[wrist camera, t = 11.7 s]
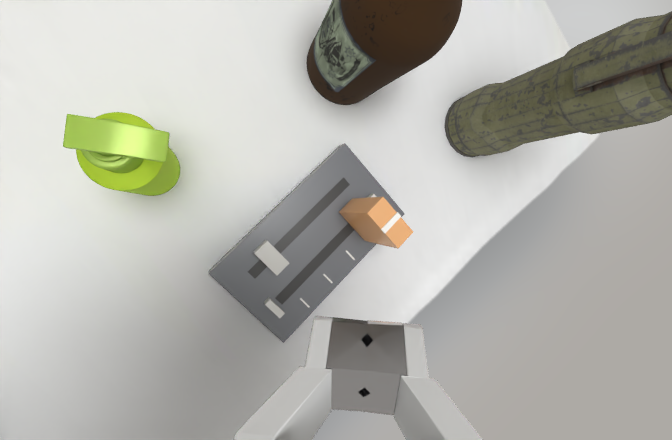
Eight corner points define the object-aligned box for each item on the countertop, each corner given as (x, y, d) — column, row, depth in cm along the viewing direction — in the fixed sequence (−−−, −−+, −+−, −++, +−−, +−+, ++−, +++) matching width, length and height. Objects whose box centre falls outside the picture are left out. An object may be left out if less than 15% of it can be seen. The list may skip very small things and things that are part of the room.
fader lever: (364, 241, 46) (398, 248, 37) (338, 212, 44) (367, 213, 36) (377, 227, 46) (414, 231, 38) (352, 198, 45) (384, 196, 36)
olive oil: (361, 15, 47) (510, -181, 23) (391, 94, 49) (558, -13, 25) (287, 38, 44) (370, -159, 20) (321, 121, 46) (435, 29, 22)
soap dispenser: (186, 200, 41) (161, 194, 22) (117, 191, 39) (23, 177, 20) (192, 148, 41) (172, 98, 22) (124, 137, 39) (36, 71, 20)
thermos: (429, 102, 50) (840, -101, 17) (497, 90, 54) (947, -97, 21) (441, 165, 51) (853, 87, 18) (507, 150, 55) (954, 62, 22)
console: (280, 336, 45) (286, 347, 42) (209, 270, 42) (208, 276, 39) (397, 213, 49) (410, 214, 46) (339, 145, 47) (349, 140, 43)
